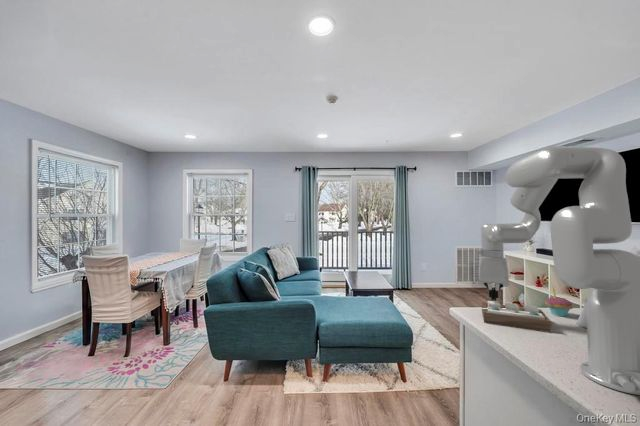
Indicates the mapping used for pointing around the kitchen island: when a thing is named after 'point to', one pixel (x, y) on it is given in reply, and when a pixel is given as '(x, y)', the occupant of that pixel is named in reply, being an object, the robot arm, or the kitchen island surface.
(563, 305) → the cupcake
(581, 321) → the flask
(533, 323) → the board
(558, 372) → the kitchen island surface
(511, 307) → the button mid
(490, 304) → the white square block
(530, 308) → the button right
